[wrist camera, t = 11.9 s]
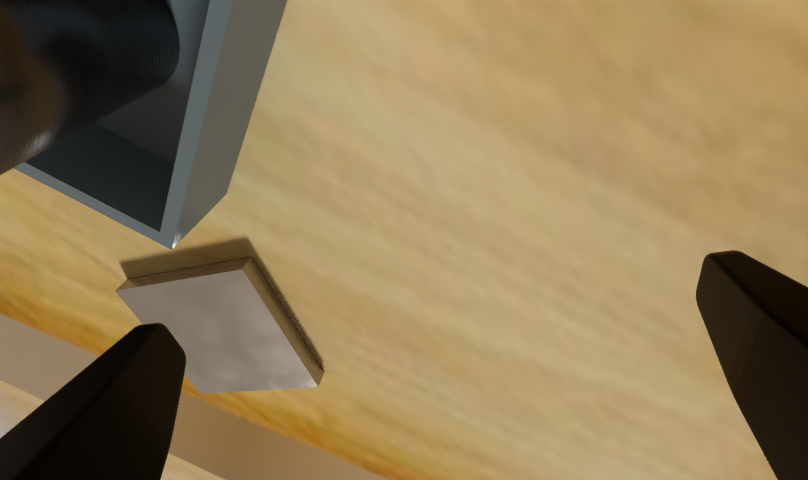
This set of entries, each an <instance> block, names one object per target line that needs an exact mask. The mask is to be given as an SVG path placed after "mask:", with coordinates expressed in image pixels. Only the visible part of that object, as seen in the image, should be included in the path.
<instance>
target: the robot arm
mask: <svg viewBox="0 0 808 480" xmlns="http://www.w3.org/2000/svg"><path fill="white" fill-rule="evenodd" d="M696 301H697V305H698V308H699V311H700V313H701V316H702V318H703V321H704V323H705V326H706V328H707V331H708V334H709V336H710V339H711V341H712V344H713V346H714V349H715V351H716V354H717V356H718V359H719V362H720V364H721V367H722V369H723V372H724V374H725V377H726V379H727V382H728V384H729V387H730V389H731V391H732V394H733V396H734V398H735V400H736V402H737V404H738V406H739V408H740V410H741V412H742V414H743V416H744V417H745V419H746V421H747V423H748V425H749V427H750V429H751V431H752V432H753V434H754V436H755V438H756V440H757V442H758V444H759V446H760V447H761V449H762V451H763V453H764V455H765V457H766V459H767V461H768V462H769V464H770V466H771V468H772V470H773V472H774V474H775V476H776V477H777V479H778V480H808V287H806V286H804V285H803V284H801V283H799V282H797V281H795V280H793V279H791V278H789V277H787V276H786V275H784V274H782V273H780V272H778V271H776V270H774V269H772V268H771V267H769V266H767V265H765V264H763V263H761V262H759V261H757V260H755V259H754V258H752V257H750V256H748V255H746V254H744V253H742V252H740V251H734V250H731V251H723V252H715V253H710V254H708V255H707V256H706V257H705V258H704V261H703V264H702V269H701V273H700V277H699V281H698V285H697V290H696ZM185 367H186V355H185V352H184V350H183V348H182V347H181V346H180V344H179V343H178V342H177V340H176V339H175V338H174V336H173V335H172V334H171V332H170V331H169V329H168V328H167V327H166V326H165V325H164V324H162V323H151V324H143V325H139V326H137V327H135V328H134V329H132V330H131V331H130V332H129V333H128V334H126V335H125V336H124V337H123V338H121V339H120V340H119V341H118V342H117V343H115V344H114V345H113V346H112V347H111V348H109V349H108V350H107V351H106V352H105V353H103V354H102V355H101V356H100V357H98V358H97V359H96V360H95V361H94V362H92V363H91V364H90V365H89V366H88V367H86V368H85V369H84V370H83V371H81V373H79V374H78V375H77V376H75V377H74V378H73V379H72V380H71V381H69V382H68V383H67V384H66V385H65V386H63V387H62V388H61V389H60V390H58V391H57V392H56V393H55V394H54V395H52V396H51V397H50V398H49V399H48V400H46V401H45V402H44V403H43V404H42V405H40V406H39V407H38V408H37V409H35V410H34V411H33V412H32V413H31V414H29V415H28V416H27V417H26V418H25V419H23V420H22V421H21V422H20V423H19V424H17V425H16V426H15V427H14V428H12V429H11V430H10V431H9V432H8V433H6V434H5V435H4V436H3V437H2V438H0V480H160V479H161V475H162V472H163V469H164V465H165V462H166V459H167V455H168V451H169V448H170V444H171V439H172V435H173V430H174V425H175V420H176V414H177V409H178V404H179V398H180V394H181V388H182V383H183V378H184V373H185Z"/></svg>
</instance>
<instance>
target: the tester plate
mask: <svg viewBox="0 0 808 480" xmlns="http://www.w3.org/2000/svg"><path fill="white" fill-rule="evenodd" d="M115 291H116V293H117V294H118V295H119V296H120V297H121V299H122V300H123V301H124V302H125V303H126V305H127V306H128V307H129V308H130V309H131V311H132V312H133V313H134V314H135V315H136V316H137V318H138V319H139V320H140V321H141V322H142V324H151V323H162V324H164V325H165V326H166V327H167V328H168V329H169V331H170V332H171V334H172V335H173V336H174V338H175V339H176V340H177V342H178V343H179V344H180V346H181V347H182V348H183V350H184V352H185V355H186V367H185V373H184V374H185V375H186V376H187V377H188V379H189V380H190V381H191V382H192V383H193V385H194V386H195V387H196V388H197V389H198V391H199V392H200V393H201V394H202V393H220V392H237V391H255V390H273V389H291V388H308V387H318V386H319V384H320V382H321V379H322V377H323V375H324V373H323V371H322V370H321V368H320V366H319V365H318V363H317V362H316V360H315V358H314V357H313V355H312V354H311V352H310V350H309V349H308V347H307V345H306V344H305V342H304V341H303V339H302V337H301V336H300V334H299V333H298V331H297V329H296V328H295V326H294V325H293V323H292V321H291V320H290V318H289V317H288V315H287V313H286V312H285V310H284V309H283V307H282V305H281V304H280V302H279V301H278V299H277V297H276V296H275V294H274V293H273V291H272V289H271V288H270V286H269V285H268V283H267V281H266V280H265V278H264V277H263V275H262V273H261V272H260V270H259V268H258V267H257V265H256V264H255V262H254V260H253V259H252V257H250V258H244V259H239V260H233V261H227V262H222V263H216V264H211V265H205V266H199V267H194V268H188V269H183V270H177V271H171V272H166V273H160V274H155V275H149V276H143V277H138V278H132V279H127V280H126V281H125V282H124V283H123V284H122V285H121V286H119V287H118V288H117V289H116V290H115Z"/></svg>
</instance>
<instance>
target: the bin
mask: <svg viewBox="0 0 808 480" xmlns="http://www.w3.org/2000/svg"><path fill="white" fill-rule="evenodd" d="M166 2H167V4H168V6H169V8H170V10H171V12H172V14H173V17H174V20H175V22H176V25H177V30H178V34H179V41H180V54H179V61H178V64H177V67H176V70H175V72H174V74H173V75H172V76H171V78H170V79H169V80H168V81H167V82H166V83H164V84H163V85H161V86H160V87H158V88H156V89H154V90H153V91H151V92H149V93H147V94H145V95H144V96H142V97H140V98H138V99H136V100H135V101H133V102H131V103H129V104H127V105H126V106H124V107H122V108H120V109H118V110H117V111H115V112H113V113H111V114H109V115H108V116H106V117H104V118H102V119H100V120H99V121H97V122H95V123H93V124H91V125H90V126H88V127H86V128H84V129H82V130H81V131H79V132H77V133H75V134H73V135H72V136H70V137H68V138H66V139H64V140H63V141H61V142H59V143H57V144H55V145H54V146H52V147H50V148H48V149H46V150H45V151H43V152H41V153H39V154H37V155H36V156H34V157H32V158H30V159H28V160H27V161H25V162H23V163H21V164H19V165H18V166H16V167H14V169H16V170H18V171H20V172H22V173H24V174H26V175H28V176H30V177H32V178H34V179H36V180H38V181H40V182H42V183H43V184H45V185H47V186H49V187H51V188H53V189H55V190H57V191H59V192H61V193H63V194H65V195H67V196H69V197H71V198H73V199H75V200H77V201H78V202H80V203H82V204H84V205H86V206H88V207H90V208H92V209H94V210H96V211H98V212H100V213H102V214H104V215H106V216H108V217H110V218H111V219H113V220H115V221H117V222H119V223H121V224H123V225H125V226H127V227H129V228H131V229H133V230H135V231H137V232H139V233H141V234H143V235H145V236H146V237H148V238H150V239H152V240H154V241H156V242H158V243H160V244H162V245H164V246H166V247H168V248H170V249H173V248H174V247H175V246H176V245H177V244H178V243H179V242H180V241H181V240H182V239H183V238H184V236H185V235H186V234H187V233H188V232H189V231H190V230H191V229H192V228H193V227H194V226H195V225H196V224H197V223H198V222H199V221H200V220H201V219H202V218H203V217H204V216H205V215H206V214H207V213H208V212H209V211H210V210H211V209H212V208H213V207H214V206H215V205H216V204H217V203H218V202H219V201H220V200H221V199H222V198H223V197H224V196H225V195H226V193H227V190H228V187H229V184H230V180H231V177H232V174H233V171H234V168H235V164H236V161H237V158H238V155H239V152H240V149H241V145H242V142H243V139H244V136H245V133H246V129H247V126H248V123H249V120H250V117H251V114H252V110H253V107H254V104H255V101H256V98H257V94H258V91H259V88H260V85H261V82H262V79H263V75H264V72H265V69H266V66H267V63H268V59H269V56H270V53H271V50H272V47H273V44H274V40H275V37H276V34H277V31H278V28H279V24H280V21H281V18H282V15H283V12H284V9H285V5H286V2H287V0H166Z"/></svg>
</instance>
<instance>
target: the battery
mask: <svg viewBox="0 0 808 480" xmlns="http://www.w3.org/2000/svg"><path fill="white" fill-rule="evenodd" d="M179 54H180V41H179V34H178V30H177V25H176V22H175V20H174V17H173V14H172V12H171V10H170V8H169V6H168V4H167V2H166V0H0V175H1V174H3V173H5V172H7V171H9V170H10V169H12V168H14V167H16V166H18V165H19V164H21V163H23V162H25V161H27V160H28V159H30V158H32V157H34V156H36V155H37V154H39V153H41V152H43V151H45V150H46V149H48V148H50V147H52V146H54V145H55V144H57V143H59V142H61V141H63V140H64V139H66V138H68V137H70V136H72V135H73V134H75V133H77V132H79V131H81V130H82V129H84V128H86V127H88V126H90V125H91V124H93V123H95V122H97V121H99V120H100V119H102V118H104V117H106V116H108V115H109V114H111V113H113V112H115V111H117V110H118V109H120V108H122V107H124V106H126V105H127V104H129V103H131V102H133V101H135V100H136V99H138V98H140V97H142V96H144V95H145V94H147V93H149V92H151V91H153V90H154V89H156V88H158V87H160V86H161V85H163V84H164V83H166V82H167V81H168V80H169V79H170V78H171V76H172V75H173V74H174V72H175V70H176V67H177V64H178V61H179Z"/></svg>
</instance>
